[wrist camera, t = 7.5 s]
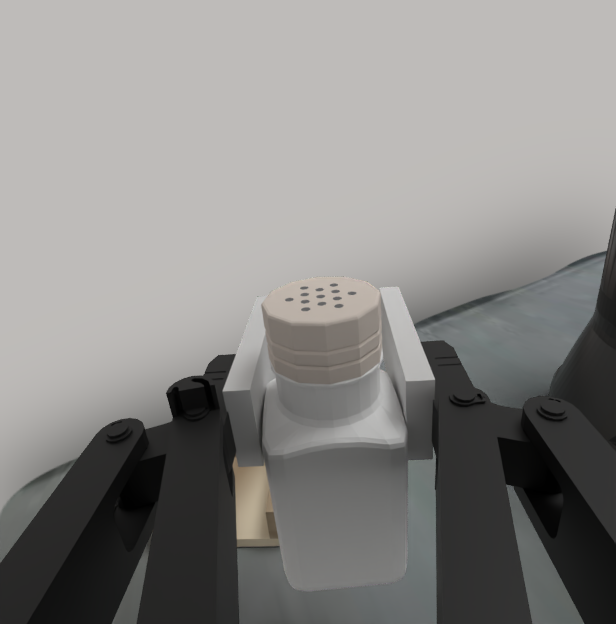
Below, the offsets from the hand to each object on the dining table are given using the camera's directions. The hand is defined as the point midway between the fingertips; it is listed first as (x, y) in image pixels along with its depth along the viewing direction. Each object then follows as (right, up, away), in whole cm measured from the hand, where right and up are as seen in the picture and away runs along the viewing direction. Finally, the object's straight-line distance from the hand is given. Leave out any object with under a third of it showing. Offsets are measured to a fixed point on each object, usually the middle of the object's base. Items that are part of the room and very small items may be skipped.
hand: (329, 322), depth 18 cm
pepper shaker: (0, -8, -2) cm, 8 cm away
